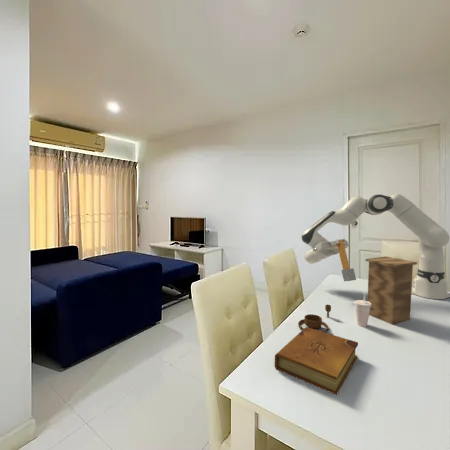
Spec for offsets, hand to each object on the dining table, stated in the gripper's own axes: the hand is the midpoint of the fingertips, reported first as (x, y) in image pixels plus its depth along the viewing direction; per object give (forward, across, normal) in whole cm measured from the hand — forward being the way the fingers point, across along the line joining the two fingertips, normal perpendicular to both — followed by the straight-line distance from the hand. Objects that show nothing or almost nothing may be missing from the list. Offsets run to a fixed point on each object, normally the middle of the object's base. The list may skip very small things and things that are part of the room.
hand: (341, 240), depth 142 cm
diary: (+19, -54, +48) cm, 75 cm away
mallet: (-5, 0, +11) cm, 12 cm away
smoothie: (+8, -18, +42) cm, 46 cm away
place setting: (+2, -34, +39) cm, 52 cm away
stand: (+8, 0, +41) cm, 42 cm away
